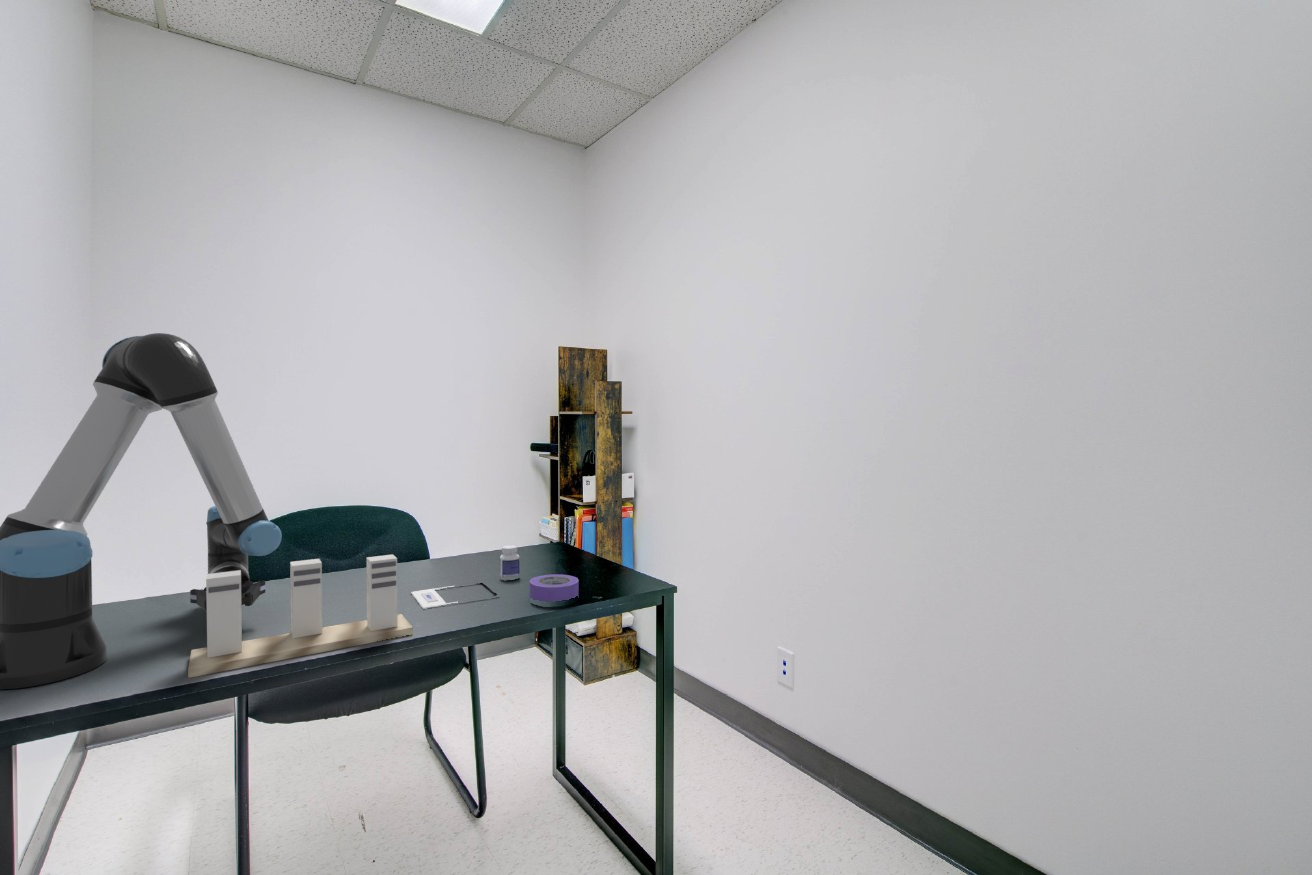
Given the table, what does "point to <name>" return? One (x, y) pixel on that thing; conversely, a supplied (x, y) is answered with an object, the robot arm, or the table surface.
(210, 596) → the tile
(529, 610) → the table surface
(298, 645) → the key base
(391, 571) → the tile
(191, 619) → the table surface
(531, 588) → the tape roll
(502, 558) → the pill bottle
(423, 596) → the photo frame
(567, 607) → the table surface
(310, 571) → the white tall block
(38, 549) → the robot arm
